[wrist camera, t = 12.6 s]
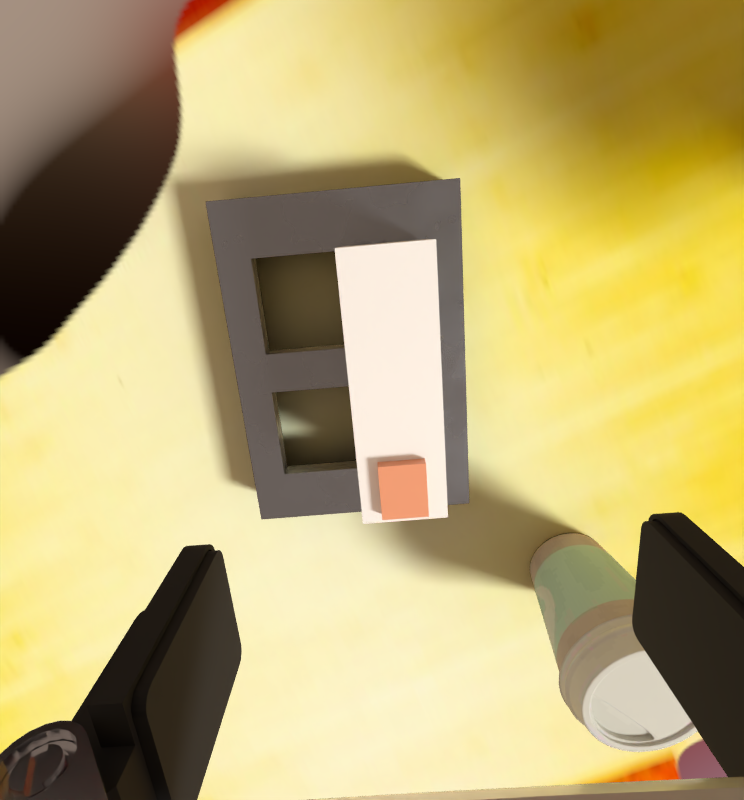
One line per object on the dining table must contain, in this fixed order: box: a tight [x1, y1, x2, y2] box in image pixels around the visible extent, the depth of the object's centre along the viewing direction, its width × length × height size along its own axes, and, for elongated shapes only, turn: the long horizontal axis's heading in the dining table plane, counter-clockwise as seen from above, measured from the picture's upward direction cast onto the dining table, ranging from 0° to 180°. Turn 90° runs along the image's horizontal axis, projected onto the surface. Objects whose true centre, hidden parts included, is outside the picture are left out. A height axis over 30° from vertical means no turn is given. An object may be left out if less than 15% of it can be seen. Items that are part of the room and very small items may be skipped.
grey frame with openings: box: [206, 178, 469, 519], centre depth 32 cm, size 14×20×3 cm
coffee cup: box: [530, 533, 698, 752], centre depth 33 cm, size 8×9×12 cm
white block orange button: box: [335, 239, 448, 524], centre depth 28 cm, size 4×14×10 cm, turn 5°
